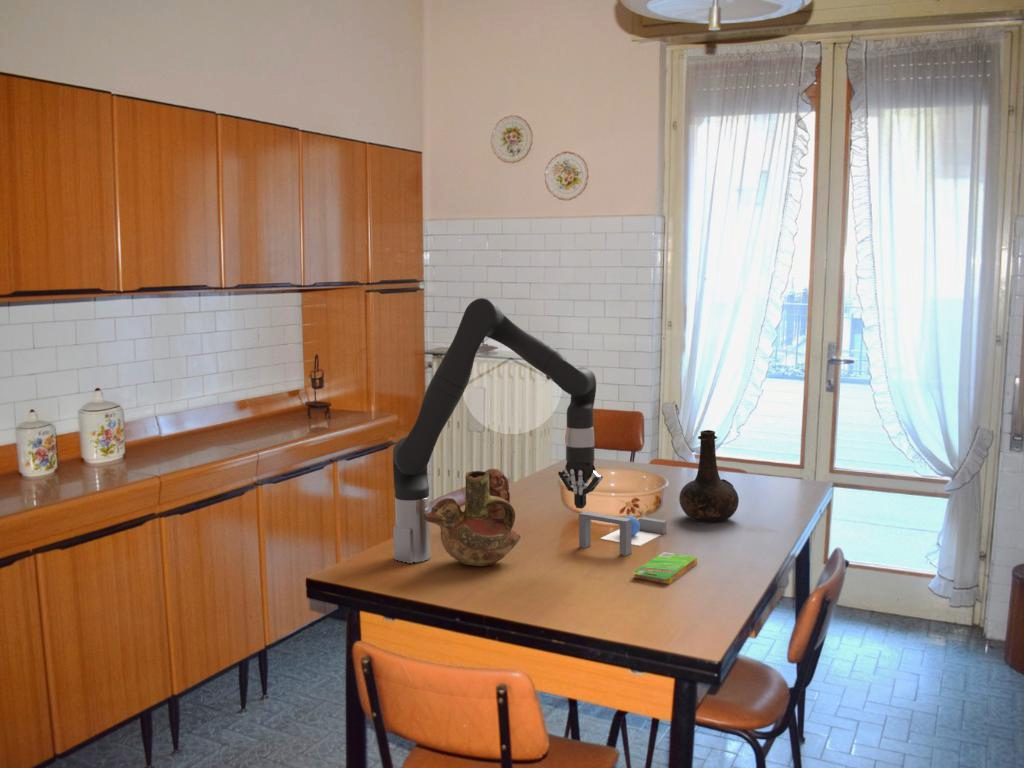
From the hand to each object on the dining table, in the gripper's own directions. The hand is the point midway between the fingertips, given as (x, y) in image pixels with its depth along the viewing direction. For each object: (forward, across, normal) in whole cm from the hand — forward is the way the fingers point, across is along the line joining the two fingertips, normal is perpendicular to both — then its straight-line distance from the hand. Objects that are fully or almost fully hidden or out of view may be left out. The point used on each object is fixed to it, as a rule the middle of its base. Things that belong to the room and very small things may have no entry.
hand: (580, 507), depth 246 cm
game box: (+16, +22, +6) cm, 28 cm away
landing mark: (+15, 0, +28) cm, 32 cm away
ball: (+12, -1, +29) cm, 31 cm away
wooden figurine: (+15, -40, +15) cm, 45 cm away
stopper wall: (+15, 0, +37) cm, 40 cm away
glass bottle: (+15, +11, +58) cm, 61 cm away
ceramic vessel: (+15, -23, -17) cm, 32 cm away
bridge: (+15, 0, +13) cm, 20 cm away
